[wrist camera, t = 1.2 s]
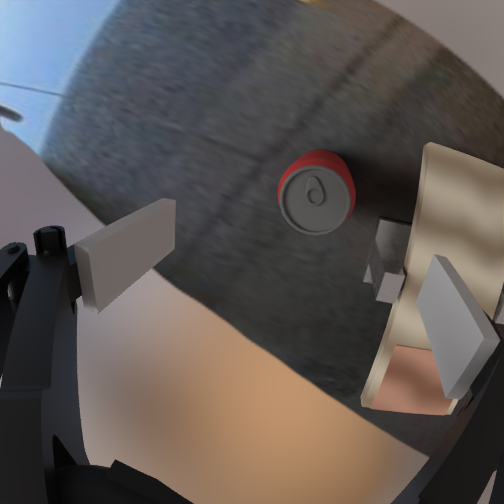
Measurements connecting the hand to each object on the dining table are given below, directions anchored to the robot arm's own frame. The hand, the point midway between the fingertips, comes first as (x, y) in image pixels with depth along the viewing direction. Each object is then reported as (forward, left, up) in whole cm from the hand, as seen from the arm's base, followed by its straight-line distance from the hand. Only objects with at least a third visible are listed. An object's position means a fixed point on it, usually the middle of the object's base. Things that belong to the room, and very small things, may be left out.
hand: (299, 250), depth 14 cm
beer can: (0, 0, -22) cm, 22 cm away
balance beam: (+7, +16, -14) cm, 23 cm away
